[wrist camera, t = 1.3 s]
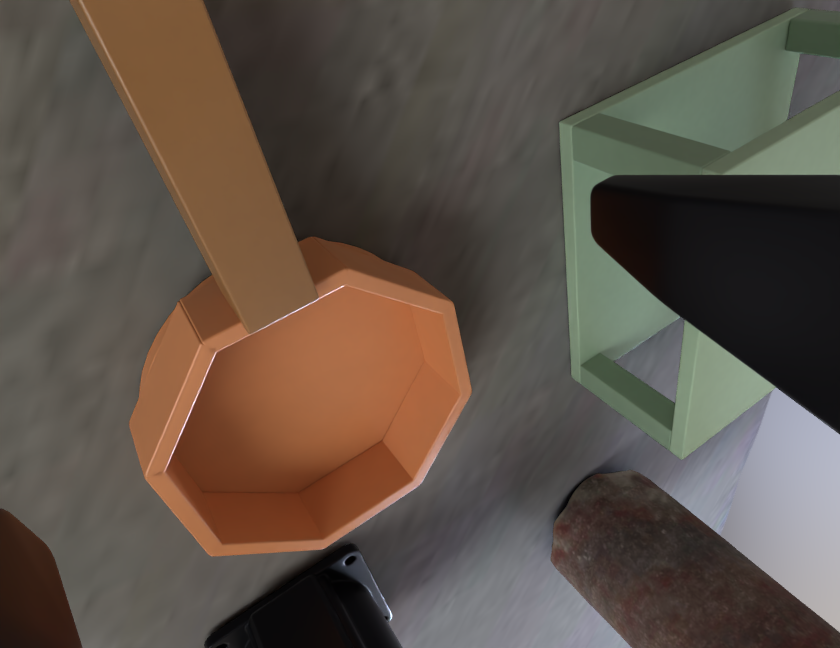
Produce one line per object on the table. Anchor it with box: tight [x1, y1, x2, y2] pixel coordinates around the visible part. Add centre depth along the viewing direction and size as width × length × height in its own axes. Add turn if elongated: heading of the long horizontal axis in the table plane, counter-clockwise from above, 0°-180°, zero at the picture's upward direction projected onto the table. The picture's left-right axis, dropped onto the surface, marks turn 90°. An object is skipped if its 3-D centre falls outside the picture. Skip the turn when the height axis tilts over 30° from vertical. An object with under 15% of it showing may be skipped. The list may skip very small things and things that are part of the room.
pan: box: [70, 0, 472, 556], centre depth 15 cm, size 16×9×3 cm, turn 11°
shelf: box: [559, 8, 840, 460], centre depth 23 cm, size 12×12×6 cm
